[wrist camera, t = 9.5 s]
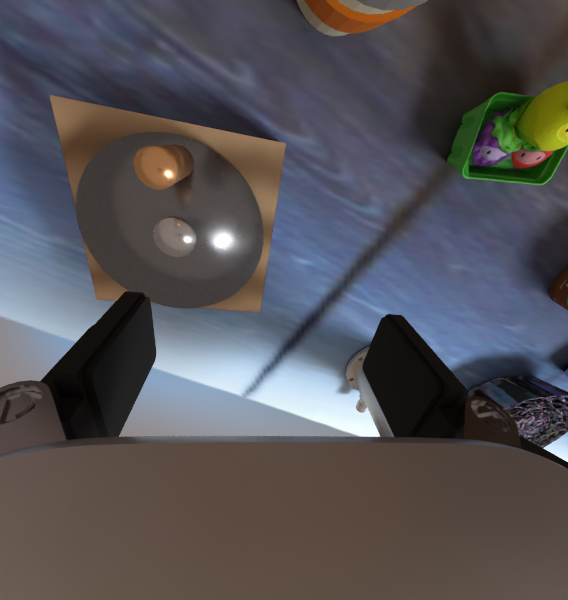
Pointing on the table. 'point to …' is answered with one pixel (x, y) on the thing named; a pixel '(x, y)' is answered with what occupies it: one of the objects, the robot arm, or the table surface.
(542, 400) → the decorative bowl
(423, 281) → the table surface
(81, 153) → the block
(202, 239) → the handwheel
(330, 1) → the reusable coffee cup
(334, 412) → the table surface
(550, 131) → the fruit basket
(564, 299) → the food container
